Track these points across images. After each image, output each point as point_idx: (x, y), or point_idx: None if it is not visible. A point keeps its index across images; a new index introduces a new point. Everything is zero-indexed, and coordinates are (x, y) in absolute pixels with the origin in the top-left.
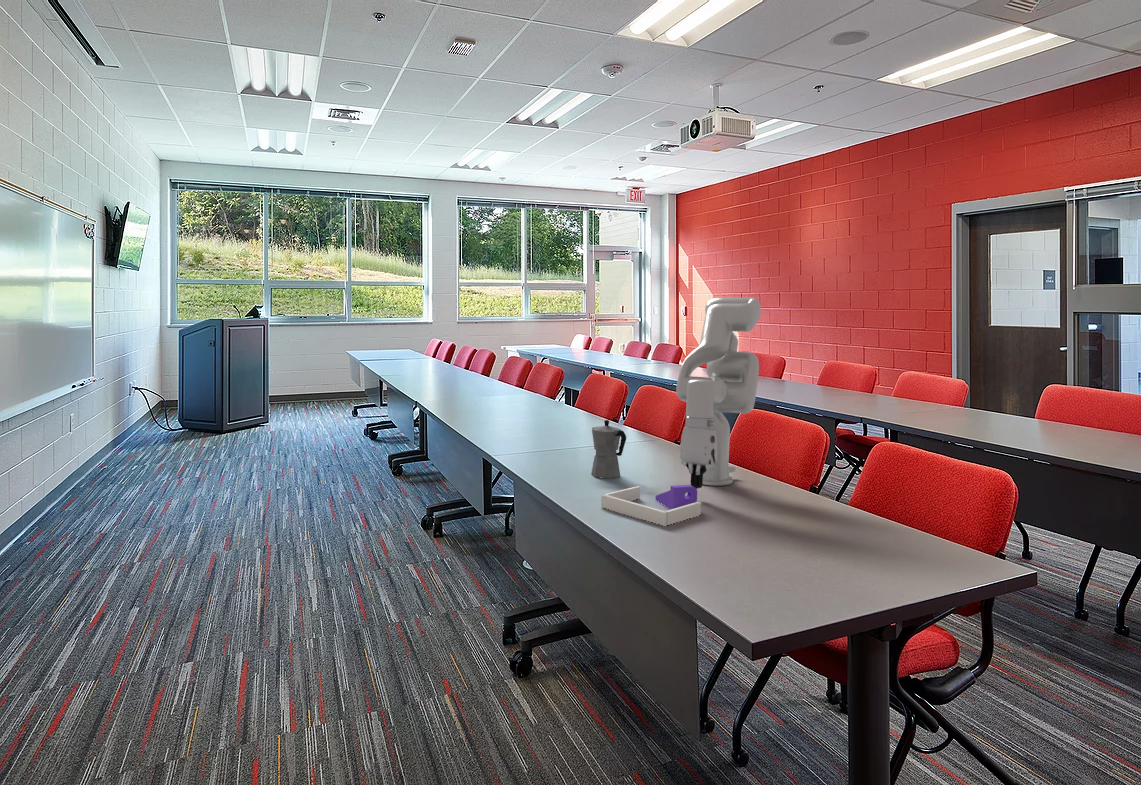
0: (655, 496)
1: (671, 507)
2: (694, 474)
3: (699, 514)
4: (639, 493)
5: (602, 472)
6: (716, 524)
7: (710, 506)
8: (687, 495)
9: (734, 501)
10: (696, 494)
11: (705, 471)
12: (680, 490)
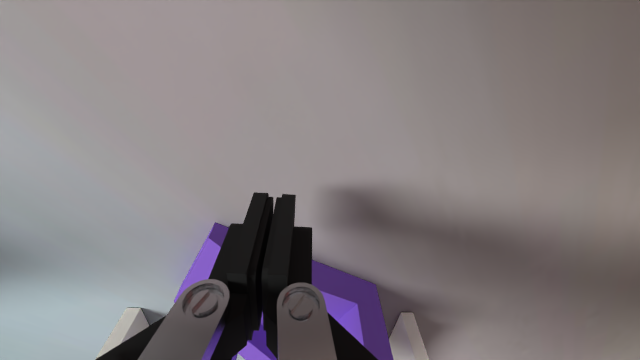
0: (175, 299)
1: None
2: (254, 324)
3: (412, 320)
4: (129, 332)
5: None
6: (481, 332)
7: (399, 225)
8: None
9: (487, 60)
10: (388, 350)
11: (347, 334)
12: None
